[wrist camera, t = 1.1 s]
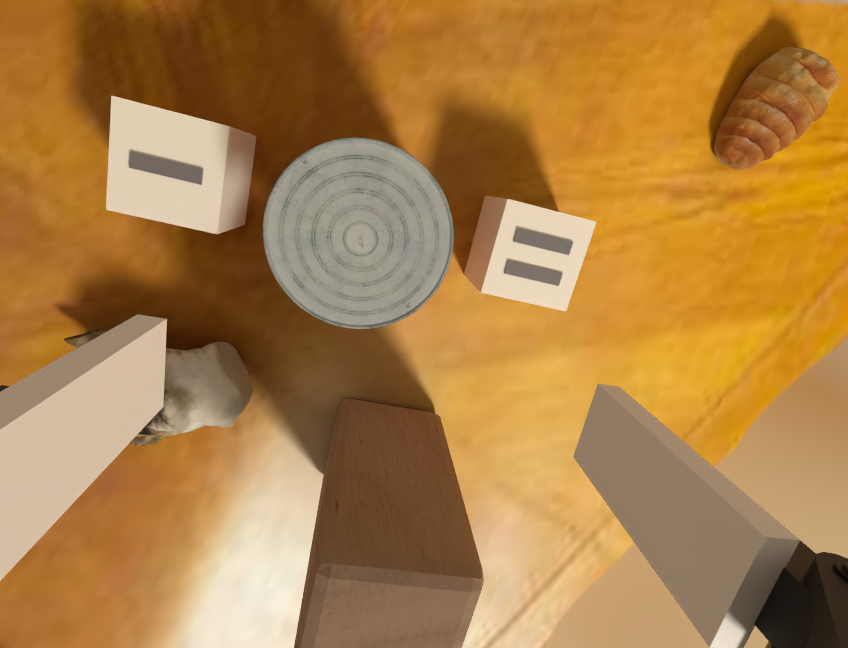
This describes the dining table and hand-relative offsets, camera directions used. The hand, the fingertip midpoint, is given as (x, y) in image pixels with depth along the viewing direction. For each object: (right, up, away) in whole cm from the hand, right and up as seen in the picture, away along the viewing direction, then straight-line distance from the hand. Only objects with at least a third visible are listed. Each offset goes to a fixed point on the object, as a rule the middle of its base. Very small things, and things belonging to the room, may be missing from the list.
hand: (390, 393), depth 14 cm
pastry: (+30, +21, +26) cm, 45 cm away
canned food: (-4, +11, +25) cm, 27 cm away
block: (-3, -10, +31) cm, 33 cm away
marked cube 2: (-16, +14, +22) cm, 31 cm away
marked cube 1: (+9, +9, +27) cm, 29 cm away
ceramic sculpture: (-21, -2, +27) cm, 34 cm away
